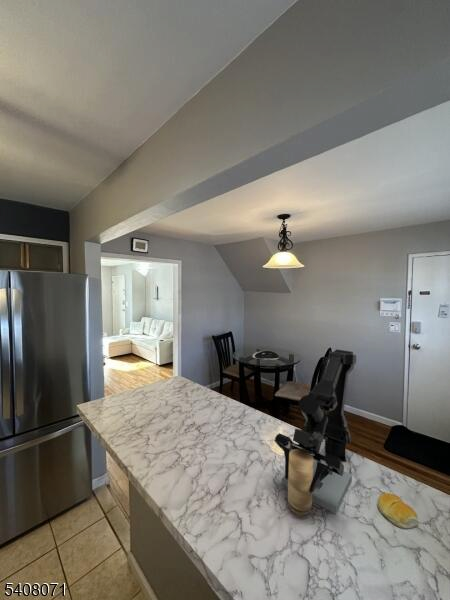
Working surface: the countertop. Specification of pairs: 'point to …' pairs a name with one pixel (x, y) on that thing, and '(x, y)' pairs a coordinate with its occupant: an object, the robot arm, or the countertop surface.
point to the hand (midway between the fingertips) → (297, 485)
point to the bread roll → (397, 511)
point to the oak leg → (300, 481)
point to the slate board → (329, 489)
